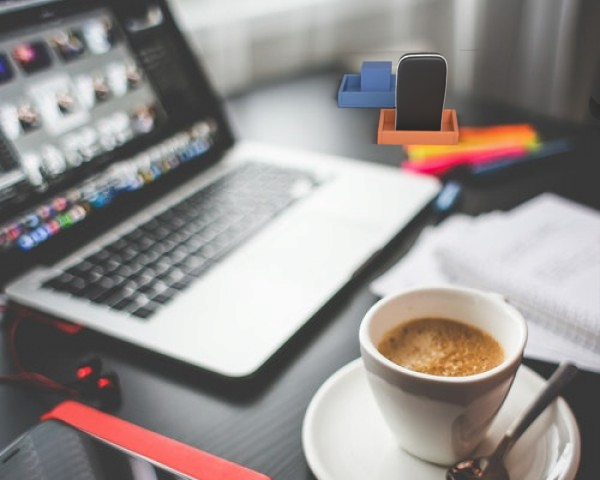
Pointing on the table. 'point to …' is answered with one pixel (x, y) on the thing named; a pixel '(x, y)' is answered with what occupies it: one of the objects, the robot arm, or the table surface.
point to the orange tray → (443, 137)
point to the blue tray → (364, 94)
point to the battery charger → (420, 91)
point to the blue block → (376, 76)
